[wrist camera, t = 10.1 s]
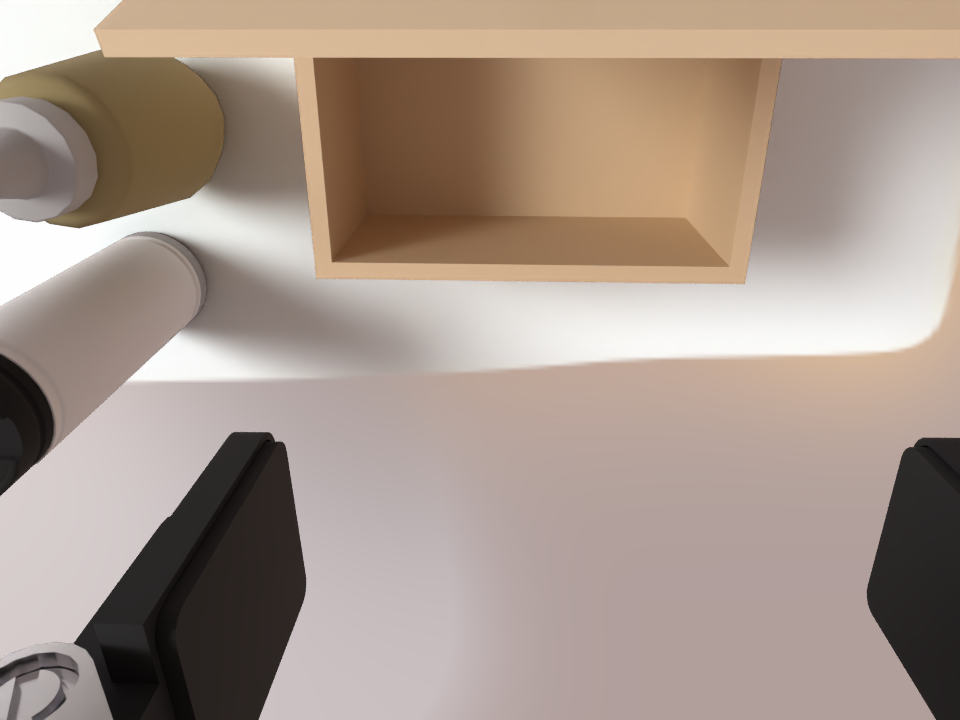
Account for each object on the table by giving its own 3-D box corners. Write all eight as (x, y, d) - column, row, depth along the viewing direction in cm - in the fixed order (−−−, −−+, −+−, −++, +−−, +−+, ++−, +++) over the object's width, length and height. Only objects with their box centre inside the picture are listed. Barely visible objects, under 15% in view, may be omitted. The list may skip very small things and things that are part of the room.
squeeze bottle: (95, 162, 42) (-169, 250, 26) (113, 17, 38) (-179, 14, 22) (231, 209, 43) (58, 324, 26) (259, 72, 39) (82, 107, 23)
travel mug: (92, 230, 44) (-204, 377, 26) (198, 230, 43) (-25, 378, 25) (115, 325, 46) (-138, 519, 28) (216, 325, 46) (25, 521, 28)
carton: (334, -89, 36) (274, -126, 27) (735, -91, 35) (813, -131, 26) (357, 224, 43) (316, 278, 34) (694, 227, 42) (744, 283, 33)
